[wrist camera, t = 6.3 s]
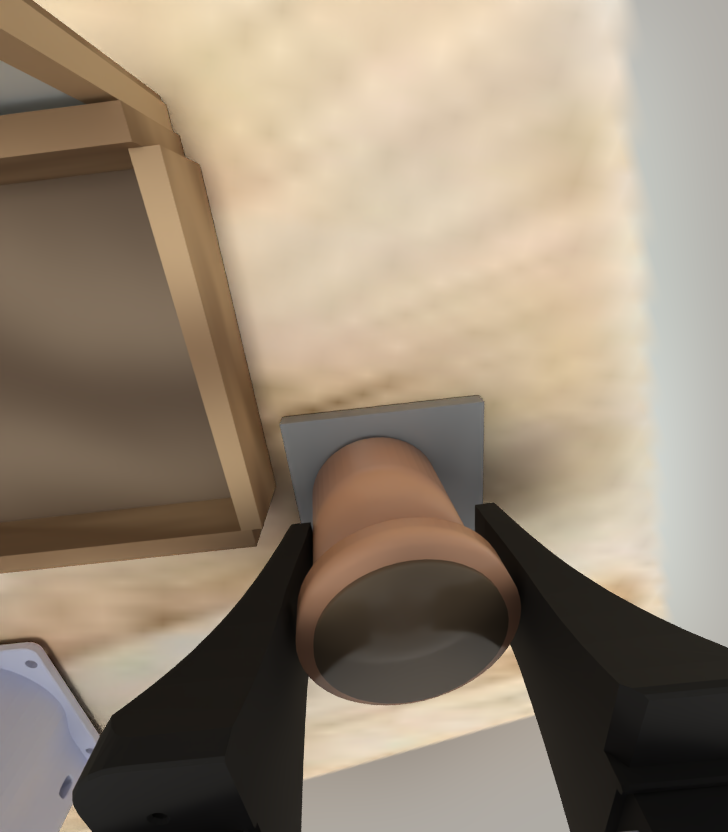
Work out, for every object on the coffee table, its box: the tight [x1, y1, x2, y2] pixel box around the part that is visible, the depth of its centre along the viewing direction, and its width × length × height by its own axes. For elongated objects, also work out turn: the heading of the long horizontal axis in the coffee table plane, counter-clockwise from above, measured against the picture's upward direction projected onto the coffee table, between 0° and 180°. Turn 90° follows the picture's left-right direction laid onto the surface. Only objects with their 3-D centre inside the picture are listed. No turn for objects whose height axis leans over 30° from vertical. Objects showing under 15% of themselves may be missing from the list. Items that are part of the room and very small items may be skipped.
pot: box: [296, 437, 521, 705], centre depth 12 cm, size 5×5×6 cm
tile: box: [280, 395, 484, 531], centre depth 15 cm, size 7×7×1 cm
